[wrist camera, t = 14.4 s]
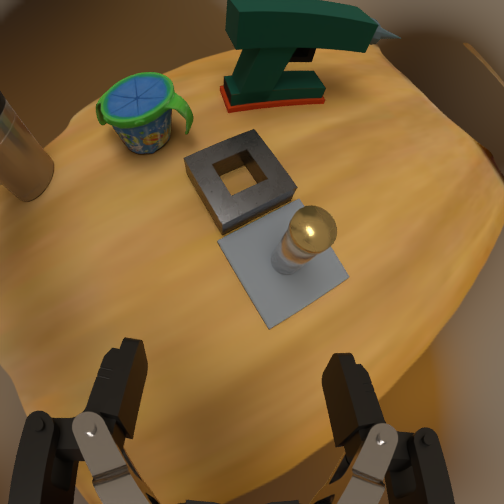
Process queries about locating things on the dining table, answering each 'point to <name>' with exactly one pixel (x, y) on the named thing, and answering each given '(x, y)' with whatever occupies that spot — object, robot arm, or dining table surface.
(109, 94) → the snack cup
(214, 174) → the socket block
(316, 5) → the power tool
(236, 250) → the mat
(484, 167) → the dining table surface
